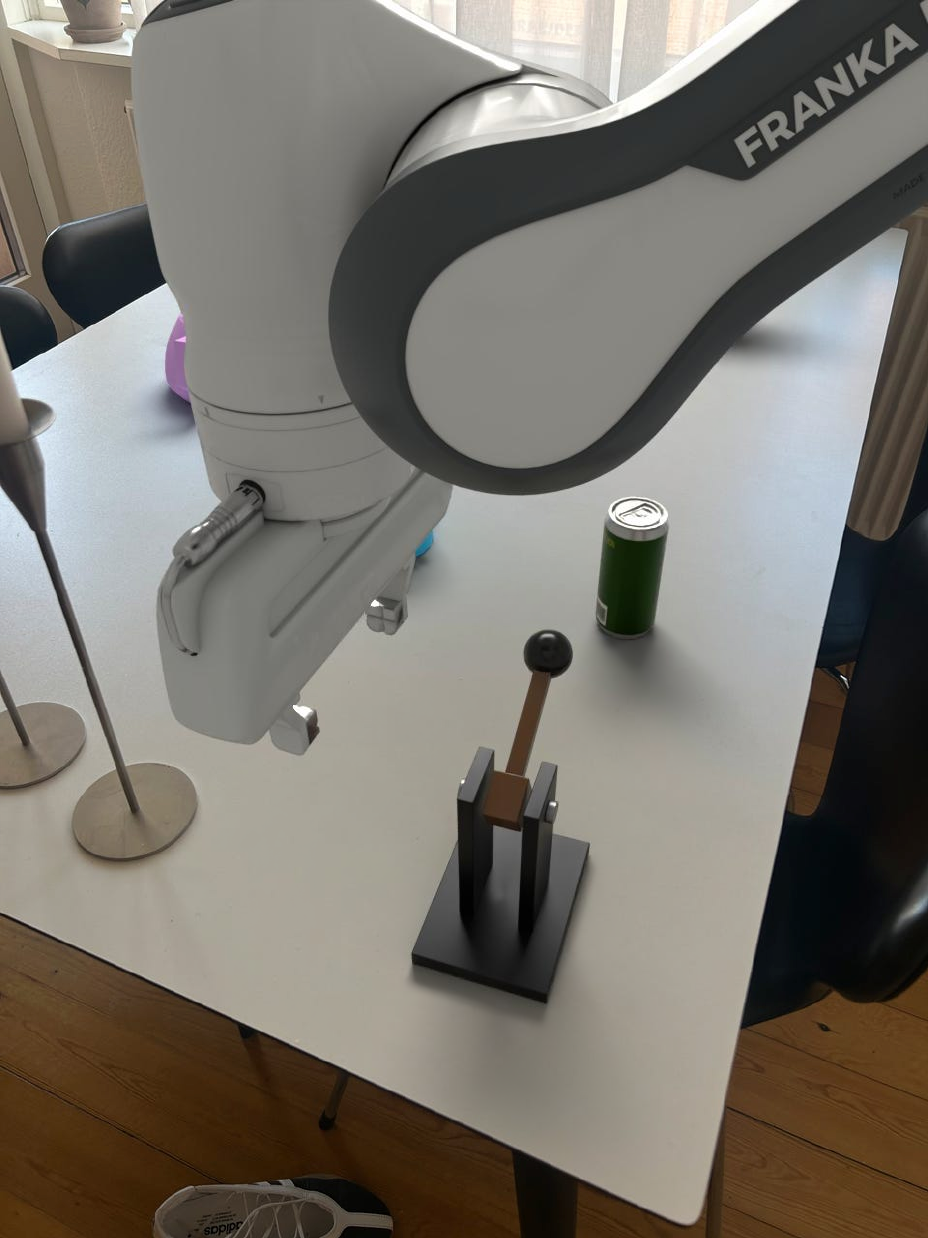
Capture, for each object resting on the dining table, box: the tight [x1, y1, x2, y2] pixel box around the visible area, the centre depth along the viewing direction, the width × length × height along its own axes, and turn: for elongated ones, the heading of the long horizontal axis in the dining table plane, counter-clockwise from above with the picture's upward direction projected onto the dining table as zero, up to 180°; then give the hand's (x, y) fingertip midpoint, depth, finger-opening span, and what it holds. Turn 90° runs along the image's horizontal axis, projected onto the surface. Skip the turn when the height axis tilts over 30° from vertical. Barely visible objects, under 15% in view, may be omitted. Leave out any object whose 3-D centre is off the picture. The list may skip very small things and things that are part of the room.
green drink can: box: [595, 496, 670, 640], centre depth 84 cm, size 5×5×12 cm
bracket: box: [410, 746, 591, 1005], centre depth 61 cm, size 12×9×13 cm
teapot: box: [164, 312, 191, 404], centre depth 122 cm, size 22×16×12 cm
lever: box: [482, 628, 574, 832], centre depth 60 cm, size 13×3×3 cm, turn 162°
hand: (345, 680), depth 49 cm, fingers open, 8 cm apart
